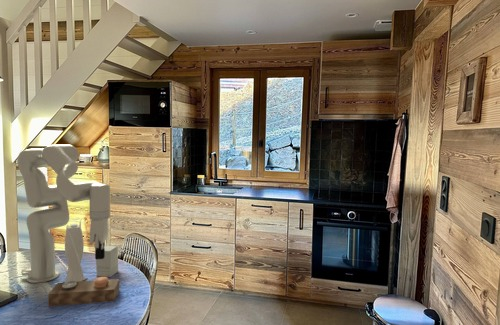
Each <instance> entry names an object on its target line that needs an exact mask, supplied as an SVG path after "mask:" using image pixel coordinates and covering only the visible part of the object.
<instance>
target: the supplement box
mask: <svg viewBox="0 0 500 325" xmlns="http://www.w3.org/2000/svg"><path fill="white" fill-rule="evenodd" d="M104 248H105V257H104V259H95V262H96V264H95V265H96V267H95V268H96V277H109V278H111V277H112V276H114V275H115V274H117V273H118V272H119V253H118V252H119V251H118V250H119V248H118V245H105V247H104Z"/></svg>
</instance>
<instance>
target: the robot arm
mask: <svg viewBox="0 0 500 325" xmlns="http://www.w3.org/2000/svg"><path fill="white" fill-rule="evenodd" d="M79 156H80V154H79V150H78V148H76V147H75V146H74V145H72V144H50V145H47V146H45V147H44V148H43V147H42V148H39V147H38V148H37V147H36V148H28V149H24V150H22V151H20V152H19V154H18V156H17V168H18V170H19V172H20V175H21V177H22V179H23V184H24V190H25V196H26V201H27V205H28V206H29V207H30V208H31V209H32V208H33V209H36V208H43V207H50V206H52V207H51V208H45V209H41V210H36V211H33V212H31V213H30V214H29V215H28V216H27V217H26V219H25V221H26V226H27V230H28V236H29V251H30V252H29V254H30V256H29V257H30V268H29V269H27V268H25V269H22V270H21V275H22V276H27V278H26V281H27V282H28V283H31V284H39V283H46V282H50V281H52V280H54V279H56V278H58V277H60V276H59V275H60V271H59V270H56V258H55V255H56V252H55V237H54V236H53V234H52V233H51V232H50V230H53V229H58V228H61V227H64V226H67V225H68V224H69V221H70V212H69V205H68V202H71V203H77V202H78V203H79V202H83V201H89V220H90V225H89V226H90V229H89V245H93V244H94V254H95V255H94V257H95V258H94V259H95V260H96V259H104V257H105V248H104V247H105V246H106V245H105V244H106V243H105V241H106V240H107V239H108V234H109V220H108V219H110V218H111V186H110V185H109V184H107V183H100V182H98V181H94V180H91V181H90V180H89V181H80V182H72V181H71V180H70V178H72V177H73V176H74V175H76V173H77V171H78V169H79V166H78V164H77V161H79V160H78V159H79ZM42 167H45V168H46V167H50V168H51V170H53V171H54V173H56V179H55V184H51V185H48V184H47V179H46V178H47V177H46V175H45V173H43V171H42V170H40V169H39V168H42Z"/></svg>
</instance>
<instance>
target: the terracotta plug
mask: <svg viewBox="0 0 500 325" xmlns="http://www.w3.org/2000/svg"><path fill="white" fill-rule="evenodd" d="M108 280H109V278H108V277H104V276H98V277H96V278H94V280H93V281H94V283H95V288H101V287H107V285H108Z"/></svg>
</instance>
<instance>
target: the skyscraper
mask: <svg viewBox="0 0 500 325" xmlns="http://www.w3.org/2000/svg"><path fill="white" fill-rule="evenodd" d="M81 223H82V221H79V224H78V223H72V224H70V225H69V224H66V229H65V236H64V237H65V238H64V253H65V260H66V264H67V266H68V267H67V271H66V280H64V281H63V282H69V281H76V282H78V281H87V280H88V277H85V276H84V273H83V272H84V271H83V269H82V266H81V263H82V260H83V255H84V249H85V248H84V246H85V245H84V242H85V241H84V235H83V231H82V224H81Z"/></svg>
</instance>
